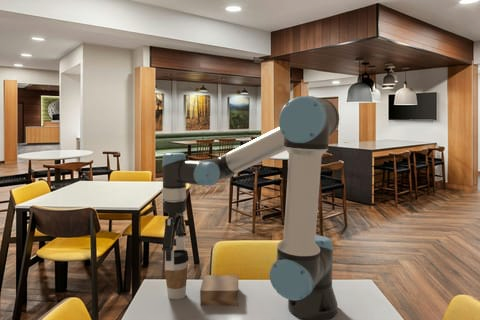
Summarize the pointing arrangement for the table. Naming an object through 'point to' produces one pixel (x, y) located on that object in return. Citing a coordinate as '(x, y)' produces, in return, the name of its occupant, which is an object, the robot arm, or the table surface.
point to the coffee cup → (177, 275)
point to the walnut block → (219, 290)
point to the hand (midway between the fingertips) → (175, 261)
